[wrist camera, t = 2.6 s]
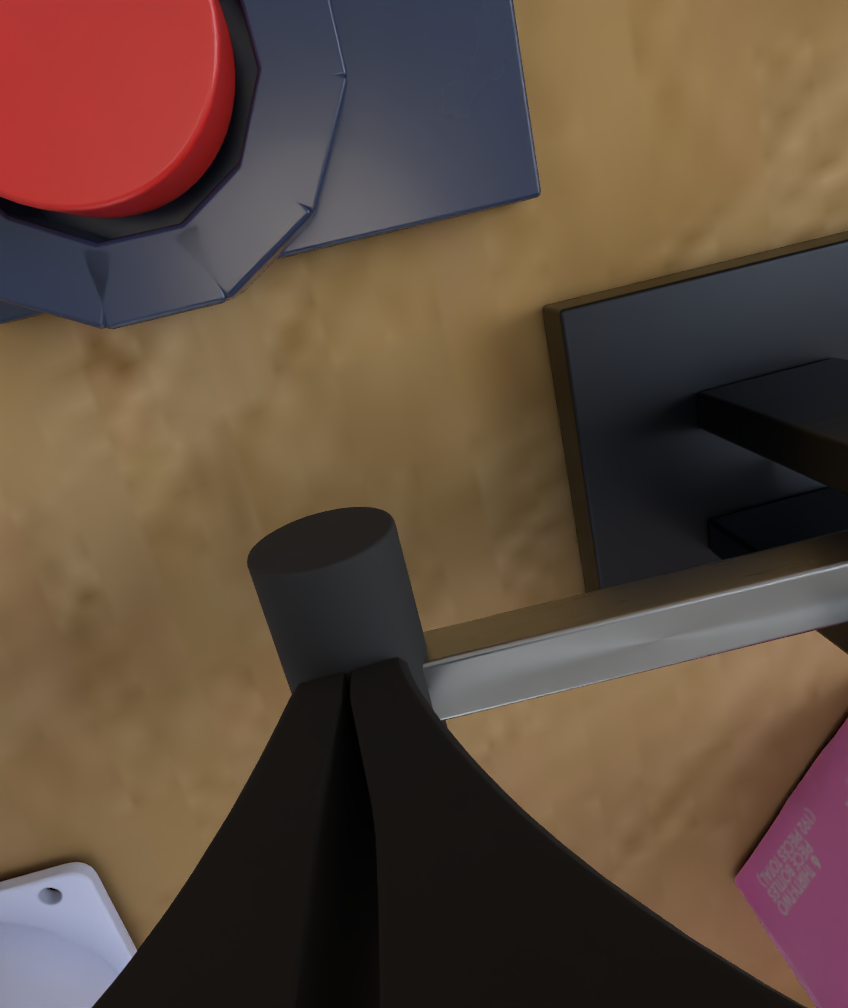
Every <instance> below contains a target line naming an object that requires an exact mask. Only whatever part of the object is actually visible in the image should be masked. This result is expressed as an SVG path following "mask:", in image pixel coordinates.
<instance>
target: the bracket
mask: <svg viewBox="0 0 848 1008" xmlns="http://www.w3.org/2000/svg"><path fill="white" fill-rule="evenodd" d="M543 317H544V323H545V330H546V336H547V343H548V349H549V355H550V362H551V368H552V375H553V381H554V388H555V394H556V401H557V407H558V414H559V420H560V427H561V433H562V439H563V446H564V452H565V459H566V465H567V472H568V478H569V485H570V491H571V498H572V504H573V510H574V517H575V523H576V530H577V536H578V543H579V549H580V556H581V562H582V569H583V575H584V582H585V588H586V593H588V592H592V591H596V590H600V589H604V588H609V587H613V586H617V585H621V584H625V583H629V582H633V581H638V580H642V579H646V578H650V577H654V576H658V575H662V574H667V573H671V572H675V571H679V570H683V569H687V568H691V567H695V566H700V565H704V564H708V563H712V562H716V561H720V560H724V559H729V558H733V557H737V556H741V555H745V554H749V553H753V552H758V551H762V550H766V549H770V548H774V547H778V546H782V545H786V544H791V543H795V542H799V541H803V540H807V539H811V538H815V537H820V536H824V535H828V534H832V533H836V532H840V531H844V530H848V231H847V232H843V233H838V234H834V235H830V236H826V237H822V238H818V239H814V240H810V241H806V242H802V243H798V244H794V245H789V246H785V247H781V248H777V249H773V250H769V251H765V252H761V253H757V254H753V255H749V256H745V257H741V258H736V259H732V260H728V261H724V262H720V263H716V264H712V265H708V266H704V267H700V268H696V269H692V270H688V271H683V272H679V273H675V274H671V275H667V276H663V277H659V278H655V279H651V280H647V281H643V282H639V283H634V284H630V285H626V286H622V287H618V288H614V289H610V290H606V291H602V292H598V293H594V294H590V295H586V296H581V297H577V298H573V299H569V300H565V301H561V302H557V303H553V304H549V305H545V306H544V307H543ZM816 631H818V632H819V633H820V634H822V635H823V636H824V637H826V638H827V639H828V640H830V641H831V642H832V643H834V644H835V645H836V646H838V647H839V648H840V649H842V650H843V651H844V652H846V653H847V654H848V622H846V623H842V624H838V625H834V626H830V627H826V628H822V629H817V630H816Z"/></svg>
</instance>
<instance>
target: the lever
mask: <svg viewBox="0 0 848 1008" xmlns="http://www.w3.org/2000/svg"><path fill="white" fill-rule="evenodd" d="M247 565H248V569H249V571H250V574H251V577H252V580H253V583H254V586H255V589H256V592H257V595H258V598H259V600H260V603H261V606H262V609H263V612H264V615H265V618H266V621H267V624H268V626H269V629H270V632H271V635H272V638H273V641H274V644H275V647H276V650H277V652H278V655H279V658H280V661H281V664H282V667H283V670H284V673H285V676H286V678H287V681H288V684H289V687H290V690H291V693H293V692H294V690H295V689H296V687H297V686H298V684H299V683H303V682H307V681H310V680H314V679H318V678H321V677H325V676H329V675H334V674H339V673H343V672H344V674H345V678H346V681H347V684H348V687H349V690H350V685H351V675H352V670H355V669H358V668H361V667H364V666H368V665H370V664H373V663H377V662H380V661H384V660H388V659H391V658H395V657H399V658H401V659H402V660H404V661H406V662H408V666H409V669H410V672H411V674H412V676H413V678H414V680H415V682H416V684H417V686H418V687H419V689H420V691H421V692H422V694H423V695H424V697H425V698H426V700H427V701H428V703H429V704H430V706H431V707H432V709H433V710H434V712H435V713H436V714H437V716H438V717H439V718H440V720H441V721H442V722H443V723H444V725H445V726H446V727H447V724H446V720H447V719H451V718H455V717H459V716H463V715H468V714H472V713H476V712H480V711H484V710H488V709H492V708H496V707H501V706H505V705H509V704H513V703H517V702H521V701H525V700H529V699H533V698H538V697H542V696H546V695H550V694H554V693H558V692H562V691H566V690H570V689H575V688H579V687H583V686H587V685H591V684H595V683H599V682H603V681H608V680H612V679H616V678H620V677H624V676H628V675H632V674H636V673H640V672H645V671H649V670H653V669H657V668H661V667H665V666H669V665H673V664H677V663H682V662H686V661H690V660H694V659H698V658H702V657H706V656H710V655H715V654H719V653H723V652H727V651H731V650H735V649H739V648H743V647H747V646H752V645H756V644H760V643H764V642H768V641H772V640H776V639H780V638H784V637H789V636H793V635H797V634H801V633H805V632H809V631H813V630H817V629H822V628H826V627H830V626H834V625H838V624H842V623H846V622H848V530H844V531H840V532H836V533H832V534H828V535H824V536H820V537H815V538H811V539H807V540H803V541H799V542H795V543H791V544H786V545H782V546H778V547H774V548H770V549H766V550H762V551H758V552H753V553H749V554H745V555H741V556H737V557H733V558H729V559H724V560H720V561H716V562H712V563H708V564H704V565H700V566H695V567H691V568H687V569H683V570H679V571H675V572H671V573H667V574H662V575H658V576H654V577H650V578H646V579H642V580H638V581H633V582H629V583H625V584H621V585H617V586H613V587H609V588H604V589H600V590H596V591H592V592H588V593H584V594H580V595H576V596H571V597H567V598H563V599H559V600H555V601H551V602H547V603H542V604H538V605H534V606H530V607H526V608H522V609H518V610H514V611H509V612H505V613H501V614H497V615H493V616H489V617H485V618H480V619H476V620H472V621H468V622H464V623H460V624H456V625H451V626H447V627H443V628H439V629H435V630H431V631H427V632H423V630H422V626H421V622H420V619H419V615H418V611H417V607H416V603H415V599H414V595H413V591H412V587H411V583H410V579H409V575H408V572H407V568H406V564H405V560H404V556H403V552H402V548H401V544H400V540H399V536H398V532H397V528H396V525H395V521H394V519H393V518H392V516H391V515H390V514H389V513H387V512H386V511H383V510H380V509H377V508H370V507H351V508H341V509H335V510H330V511H325V512H321V513H317V514H314V515H310V516H307V517H304V518H301V519H299V520H296V521H294V522H291V523H289V524H287V525H285V526H283V527H281V528H279V529H277V530H275V531H274V532H272V533H270V534H269V535H267V536H266V537H264V538H263V539H262V540H260V541H259V542H258V543H257V544H256V545H255V546H254V547H253V548H252V550H251V551H250V553H249V555H248V559H247Z"/></svg>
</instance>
